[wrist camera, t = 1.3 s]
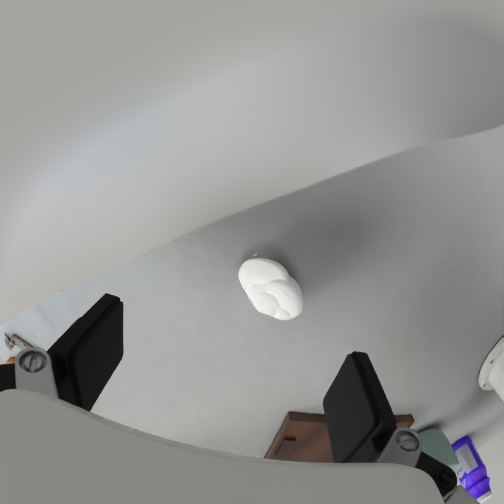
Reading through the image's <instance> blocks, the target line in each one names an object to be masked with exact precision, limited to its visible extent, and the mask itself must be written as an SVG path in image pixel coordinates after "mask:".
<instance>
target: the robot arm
mask: <svg viewBox="0 0 504 504" xmlns="http://www.w3.org/2000/svg"><path fill="white" fill-rule="evenodd" d="M122 357H123V302H121V301H120V298H119V297H117V296H114V295H111V294H108V293H106V294H105V295H104V296H103V297H102V298H100V299H99V300H98V301H97V302H96V303H95V304H94V305H93V306H92V307H91V308H90V309H89V310H88V311H87V312H86V313H85V314H84V315H83V316H82V317H80V318H79V319H77V320H76V321H75V322H74V323H73V324H72V325H71V327H70V328H69V329H68V330H67V331H66V332H65V333H64V334H63V335H62V336H61V337H60V338H59V339H58V340H57V341H56V342H55V343H54V344H53V345H52V346H51V347H50V348H49V349H48V351H47V352H46V351H45V350H43V349H40V348H37V347H30V348H26V349H24V350H22V351H21V352H19V353H18V355H17V356H16V359H15V363H11V364H2V365H0V504H480V503H479V502H478V501H477V500H476V499H475V498H474V497H473V496H472V495H471V494H470V493H469V492H468V491H467V490H466V489H465V488H464V487H463V486H462V485H459V486H457V476H456V474H455V472H454V471H453V470H452V469H451V468H450V467H448V466H447V465H445V464H443V463H441V462H440V461H438V460H436V459H435V458H433V457H431V456H429V455H428V454H426V453H424V452H423V451H422V448H423V442H422V439H421V437H420V435H419V434H418V433H417V432H415V431H414V430H412V429H410V428H406V427H401V428H398V429H397V426H396V423H397V422H396V419H395V417H394V414H393V412H392V409H391V407H390V405H389V402H388V400H387V397H386V395H385V393H384V390H383V388H382V386H381V384H380V381H379V379H378V377H377V374H376V372H375V370H374V368H373V365H372V363H371V361H370V359H369V357H368V355H367V353H363V352H356V351H354V352H352V353H351V354H348V355H347V357H346V359H345V361H344V363H343V365H342V366H341V368H340V370H339V372H338V374H337V376H336V377H335V379H334V381H333V383H332V385H331V386H330V388H329V390H328V392H327V393H326V395H325V397H324V400H323V407H324V412H325V417H326V423H327V428H328V433H329V439H330V444H331V450H332V455H333V461H334V463H315V462H295V461H283V460H273V459H264V458H256V457H249V456H242V455H236V454H230V453H224V452H219V451H214V450H209V449H204V448H200V447H196V446H191V445H187V444H183V443H180V442H176V441H172V440H168V439H165V438H161V437H158V436H155V435H152V434H148V433H145V432H142V431H139V430H136V429H133V428H131V427H128V426H125V425H122V424H120V423H117V422H114V421H112V420H109V419H106V418H104V417H101V416H99V415H96V414H94V413H91V412H90V410H91V409H92V407H93V405H94V404H95V402H96V400H97V399H98V397H99V395H100V394H101V392H102V390H103V389H104V387H105V385H106V384H107V382H108V380H109V379H110V377H111V376H112V374H113V372H114V371H115V369H116V368H117V366H118V364H119V363H120V361H121V359H122ZM478 382H479V385H480V386H481V388H482V389H483V390H486V391H487V390H492V389H494V390H495V391H496V392H497V394H498V395H499V396H500V398H501V399H502V401H503V402H504V337H503V338H502V339H501V340H500V341H499V342H498V343H497V344H496V346H495V347H494V348H493V349H492V351H491V352H490V354H489V355H488V357H487V358H486V360H485V362H484V364H483V366H482V368H481V371H480V374H479V380H478Z"/></svg>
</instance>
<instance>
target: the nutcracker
mask: <svg viewBox="0 0 504 504" xmlns="http://www.w3.org/2000/svg"><path fill="white" fill-rule="evenodd" d="M4 334H5V333H4ZM5 336H6V340H5V342H6V344H7V347H8V348H9V349H10V350H12V349H11V348H10V346H11V347H12V348H13V345H14V344H15V345H17V346H18V347H20V348H21V349H22V350H24V349H26V348H30V347H32V346H30V345H29V344H27V343H26V342H25V341H23V340H22V339H20V338H18V337H17V336H16V335H12V336H11V339H10V338H9V337H8V336H7V335H6V334H5Z"/></svg>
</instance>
